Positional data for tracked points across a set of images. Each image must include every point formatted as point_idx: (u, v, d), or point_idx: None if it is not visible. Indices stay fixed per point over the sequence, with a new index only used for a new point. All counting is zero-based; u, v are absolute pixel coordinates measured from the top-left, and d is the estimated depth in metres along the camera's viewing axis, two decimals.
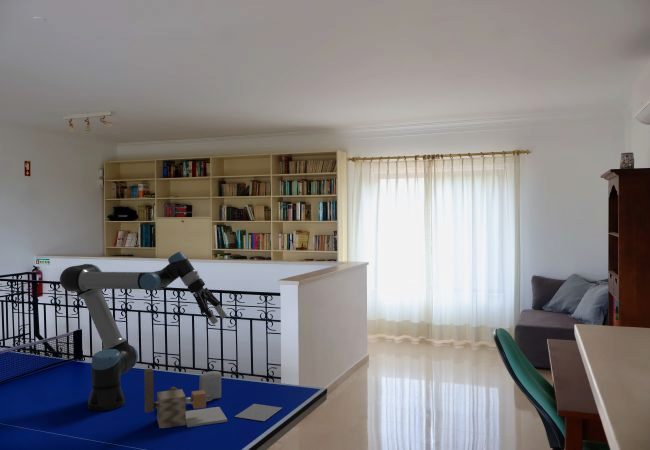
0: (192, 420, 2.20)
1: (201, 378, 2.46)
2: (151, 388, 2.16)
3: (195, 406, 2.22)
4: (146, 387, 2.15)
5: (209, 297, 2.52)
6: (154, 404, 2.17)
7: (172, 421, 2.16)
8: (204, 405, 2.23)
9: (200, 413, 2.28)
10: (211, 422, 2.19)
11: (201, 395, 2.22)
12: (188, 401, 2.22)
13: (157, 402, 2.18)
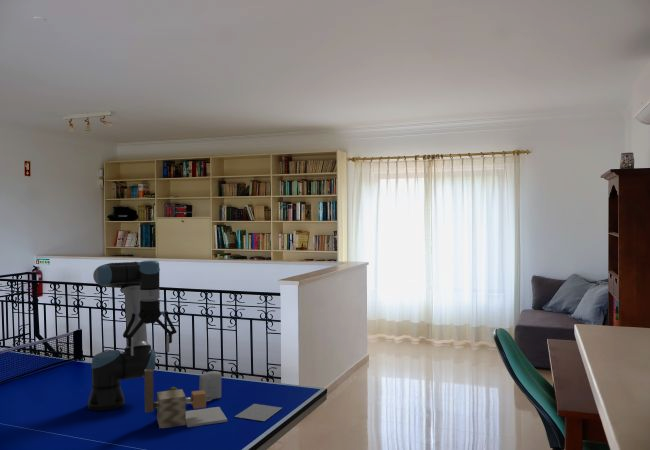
0: (192, 420, 2.20)
1: (201, 378, 2.46)
2: (151, 388, 2.16)
3: (195, 406, 2.22)
4: (146, 387, 2.15)
5: (158, 323, 2.18)
6: (154, 404, 2.17)
7: (172, 421, 2.16)
8: (204, 405, 2.23)
9: (200, 413, 2.28)
10: (211, 422, 2.19)
11: (201, 395, 2.22)
12: (188, 401, 2.22)
13: (157, 402, 2.18)
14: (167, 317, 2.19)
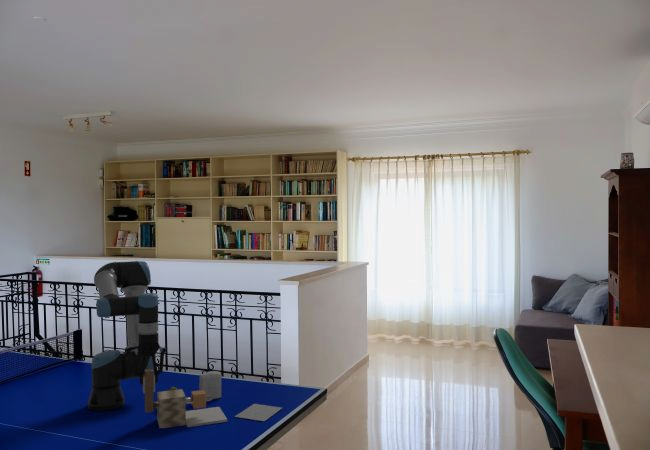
0: (192, 420, 2.20)
1: (201, 378, 2.46)
2: (151, 388, 2.16)
3: (195, 406, 2.22)
4: (146, 387, 2.15)
5: (152, 358, 2.17)
6: (154, 404, 2.17)
7: (172, 421, 2.16)
8: (204, 405, 2.23)
9: (200, 413, 2.28)
10: (211, 422, 2.19)
11: (201, 395, 2.22)
12: (188, 401, 2.22)
13: (157, 402, 2.18)
14: (162, 354, 2.18)
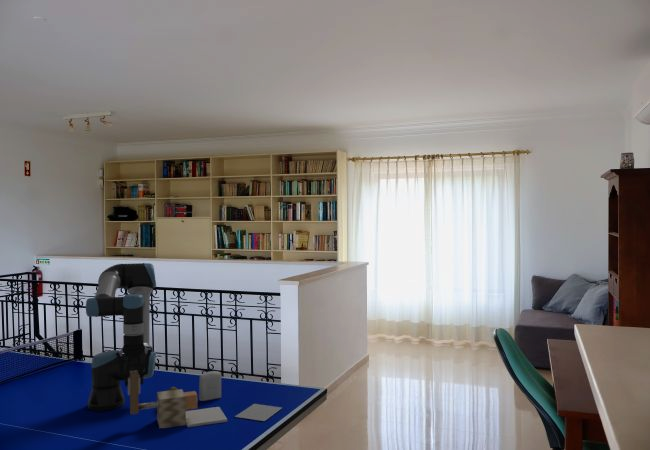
0: (192, 420, 2.20)
1: (201, 378, 2.46)
2: (136, 390, 2.13)
3: (186, 407, 2.20)
4: (131, 389, 2.13)
5: (137, 360, 2.15)
6: (139, 406, 2.15)
7: (172, 421, 2.16)
8: (195, 406, 2.22)
9: (200, 413, 2.28)
10: (211, 422, 2.19)
11: (192, 396, 2.21)
12: None
13: (142, 404, 2.16)
14: (148, 355, 2.16)
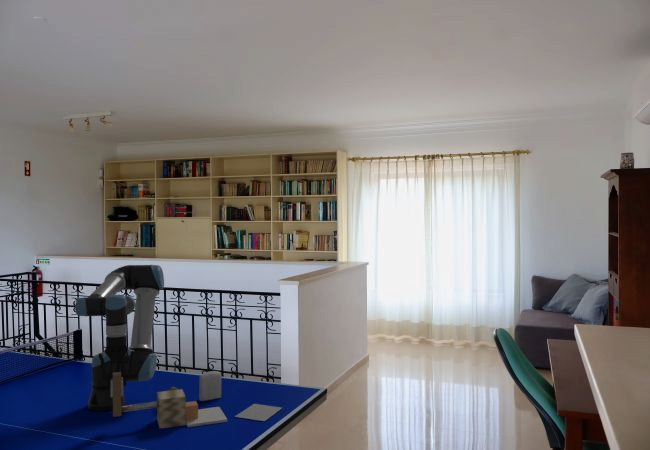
0: (192, 420, 2.20)
1: (201, 378, 2.46)
2: (119, 392, 2.11)
3: (187, 417, 2.20)
4: (114, 391, 2.10)
5: (120, 361, 2.12)
6: (122, 408, 2.12)
7: (172, 421, 2.16)
8: (196, 416, 2.22)
9: (200, 413, 2.28)
10: (211, 422, 2.19)
11: (193, 406, 2.21)
12: (158, 405, 2.17)
13: (125, 406, 2.13)
14: (131, 357, 2.13)
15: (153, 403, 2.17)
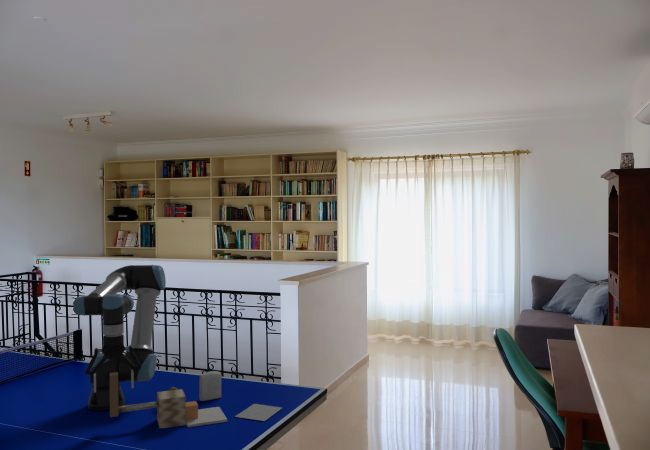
0: (192, 420, 2.20)
1: (201, 378, 2.46)
2: (116, 392, 2.11)
3: (187, 417, 2.20)
4: (111, 391, 2.10)
5: (122, 359, 2.13)
6: (119, 408, 2.12)
7: (172, 421, 2.16)
8: (196, 416, 2.22)
9: (200, 413, 2.28)
10: (211, 422, 2.19)
11: (193, 406, 2.21)
12: (155, 405, 2.17)
13: (122, 406, 2.13)
14: (131, 352, 2.13)
15: (150, 403, 2.17)
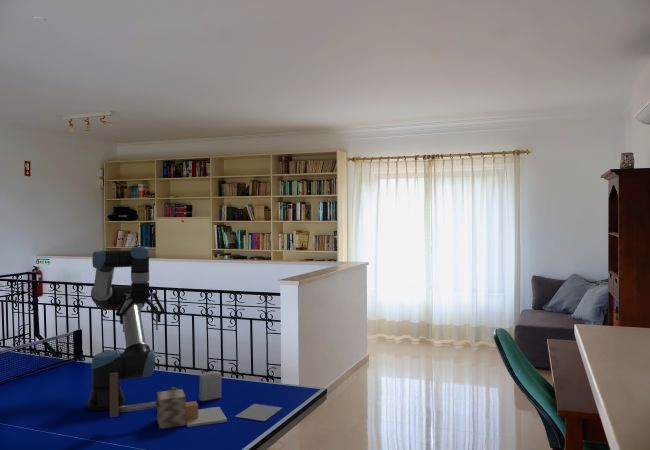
0: (192, 420, 2.20)
1: (201, 378, 2.46)
2: (116, 392, 2.11)
3: (187, 417, 2.20)
4: (111, 391, 2.10)
5: (148, 304, 2.39)
6: (119, 408, 2.12)
7: (172, 421, 2.16)
8: (196, 416, 2.22)
9: (200, 413, 2.28)
10: (211, 422, 2.19)
11: (193, 406, 2.21)
12: (155, 405, 2.17)
13: (122, 406, 2.13)
14: (156, 298, 2.39)
15: (150, 403, 2.17)
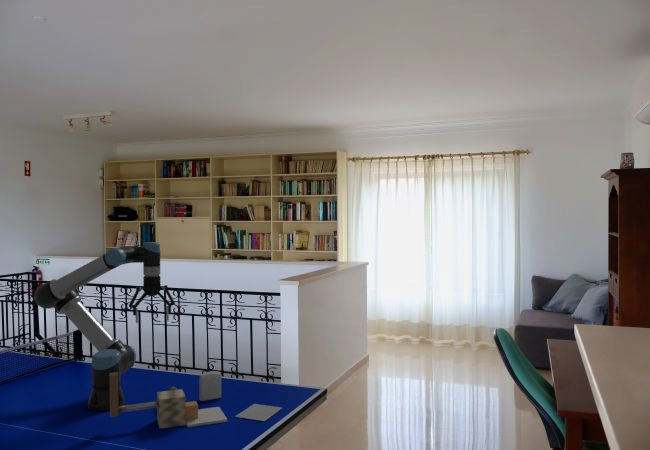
0: (192, 420, 2.20)
1: (201, 378, 2.46)
2: (116, 392, 2.11)
3: (187, 417, 2.20)
4: (111, 391, 2.10)
5: None
6: (119, 408, 2.12)
7: (172, 421, 2.16)
8: (196, 416, 2.22)
9: (200, 413, 2.28)
10: (211, 422, 2.19)
11: (193, 406, 2.21)
12: (155, 405, 2.17)
13: (122, 406, 2.13)
14: (167, 290, 2.54)
15: (150, 403, 2.17)
